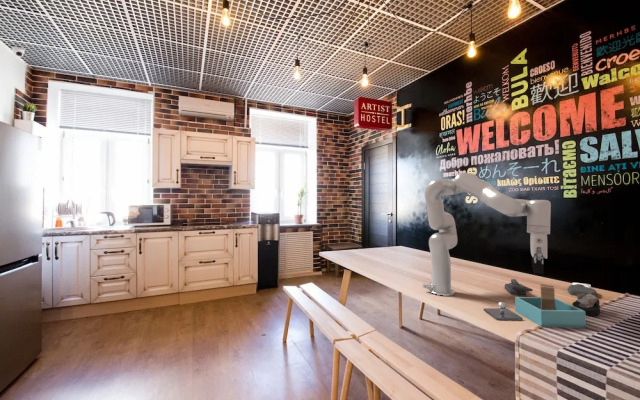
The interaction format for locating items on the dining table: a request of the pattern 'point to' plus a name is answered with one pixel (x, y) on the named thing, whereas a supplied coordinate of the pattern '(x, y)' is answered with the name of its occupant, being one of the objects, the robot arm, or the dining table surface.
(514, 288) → the zipper pull
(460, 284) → the dining table surface
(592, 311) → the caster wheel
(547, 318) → the bin
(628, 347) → the dining table surface
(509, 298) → the dining table surface
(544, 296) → the strut
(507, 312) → the base
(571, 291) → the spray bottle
